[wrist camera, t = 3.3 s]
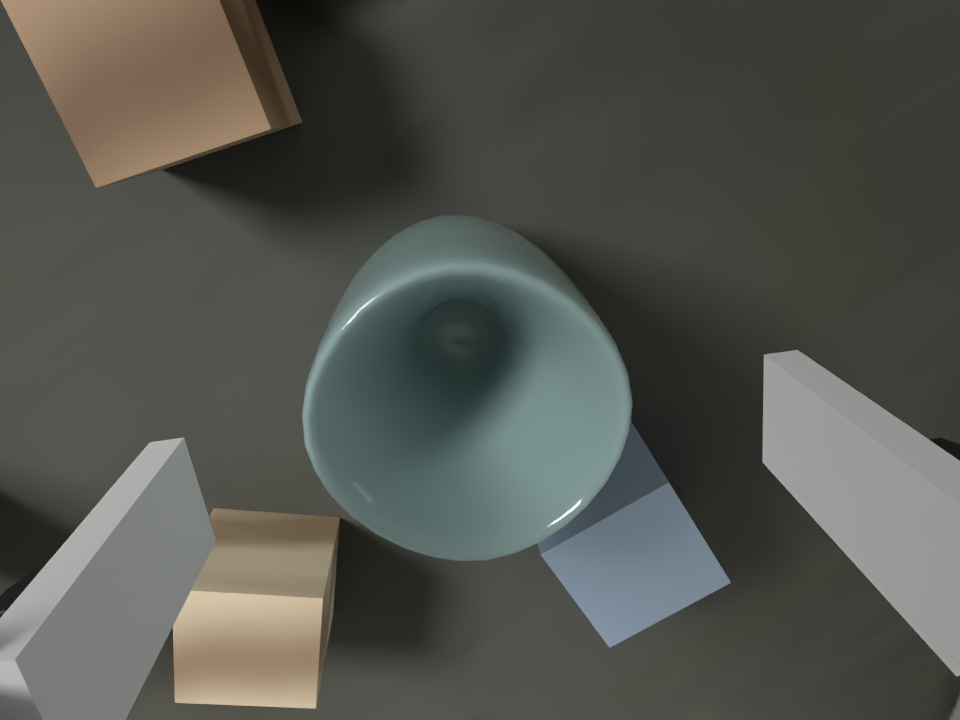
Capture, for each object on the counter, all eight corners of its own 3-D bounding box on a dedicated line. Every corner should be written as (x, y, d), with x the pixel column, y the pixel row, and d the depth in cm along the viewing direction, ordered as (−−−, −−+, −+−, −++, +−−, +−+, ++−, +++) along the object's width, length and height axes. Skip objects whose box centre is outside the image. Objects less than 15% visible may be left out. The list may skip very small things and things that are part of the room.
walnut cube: (88, 11, 22) (-6, -13, 17) (239, -42, 21) (186, -81, 17) (162, 169, 23) (96, 188, 19) (302, 122, 23) (271, 129, 18)
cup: (603, 286, 26) (701, 395, 16) (472, 437, 28) (494, 613, 18) (435, 150, 24) (438, 186, 14) (305, 324, 26) (234, 456, 16)
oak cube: (214, 507, 28) (172, 589, 23) (340, 516, 29) (322, 598, 24) (214, 607, 30) (175, 702, 25) (333, 614, 30) (315, 708, 26)
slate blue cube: (522, 479, 29) (540, 554, 24) (628, 417, 28) (668, 482, 23) (581, 562, 30) (609, 647, 26) (683, 505, 30) (730, 582, 25)
